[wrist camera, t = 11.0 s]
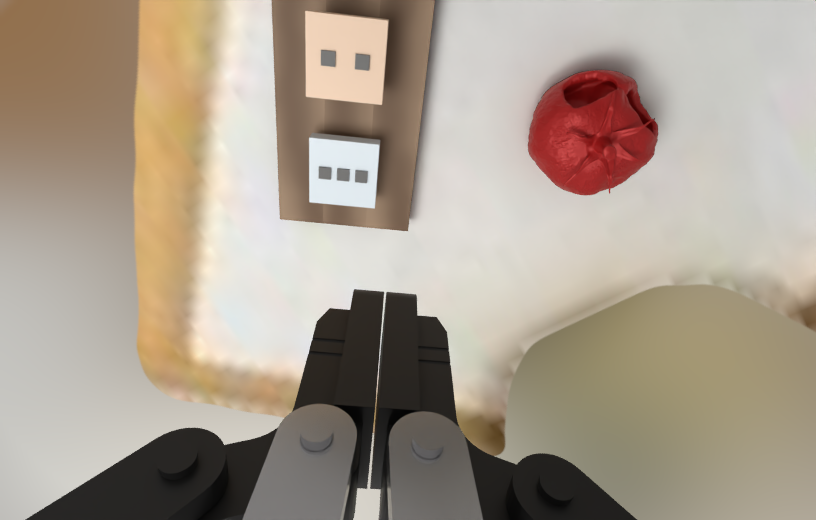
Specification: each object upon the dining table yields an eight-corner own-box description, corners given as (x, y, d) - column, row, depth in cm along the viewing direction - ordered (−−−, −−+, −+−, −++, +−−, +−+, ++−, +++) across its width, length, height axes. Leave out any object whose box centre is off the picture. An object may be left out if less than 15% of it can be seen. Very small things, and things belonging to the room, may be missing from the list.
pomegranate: (595, 190, 45) (635, 235, 37) (501, 154, 43) (522, 194, 35) (657, 89, 40) (719, 115, 32) (555, 44, 39) (593, 61, 30)
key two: (390, 17, 35) (388, 20, 32) (384, 93, 38) (381, 105, 34) (315, 8, 35) (304, 11, 31) (315, 86, 38) (305, 97, 34)
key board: (454, -184, 31) (457, -196, 29) (407, 219, 47) (407, 231, 44) (273, -210, 31) (263, -224, 29) (285, 208, 46) (279, 219, 44)
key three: (381, 131, 41) (379, 145, 37) (377, 190, 44) (374, 209, 40) (317, 124, 41) (308, 138, 37) (317, 184, 44) (308, 203, 40)
